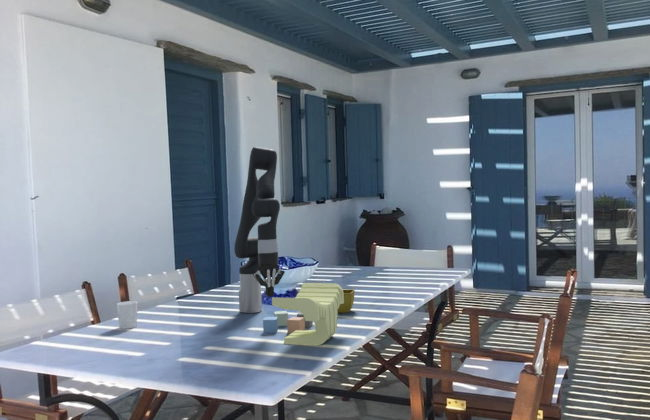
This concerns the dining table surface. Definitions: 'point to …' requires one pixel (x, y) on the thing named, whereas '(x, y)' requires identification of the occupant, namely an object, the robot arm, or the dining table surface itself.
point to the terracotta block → (295, 324)
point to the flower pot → (347, 301)
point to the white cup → (127, 314)
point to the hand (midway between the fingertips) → (270, 296)
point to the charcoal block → (307, 323)
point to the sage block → (281, 317)
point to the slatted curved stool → (314, 311)
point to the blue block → (270, 325)
